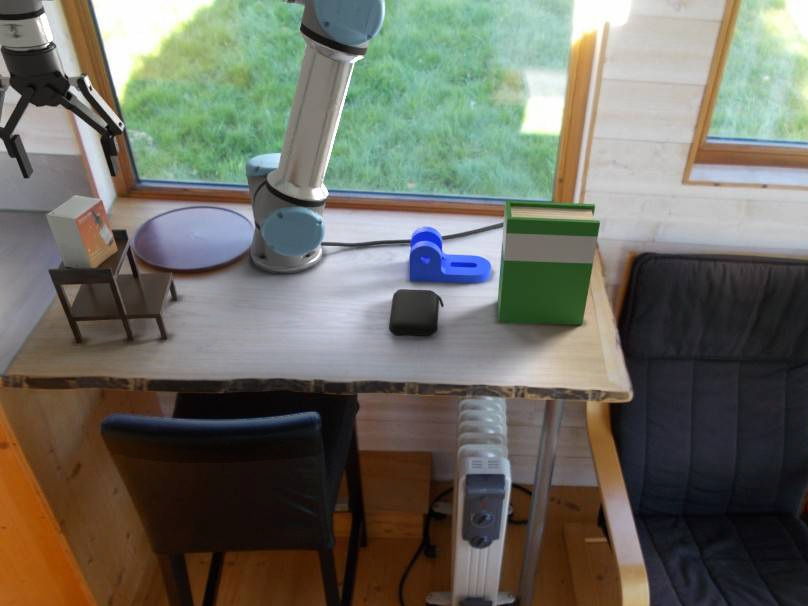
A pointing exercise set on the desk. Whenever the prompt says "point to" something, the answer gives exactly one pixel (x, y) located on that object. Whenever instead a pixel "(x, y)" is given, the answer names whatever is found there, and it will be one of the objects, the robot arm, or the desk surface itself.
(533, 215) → the hardback book
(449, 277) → the bracket
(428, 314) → the carrying case
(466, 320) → the desk surface
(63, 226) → the small box
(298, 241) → the robot arm
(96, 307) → the rack
